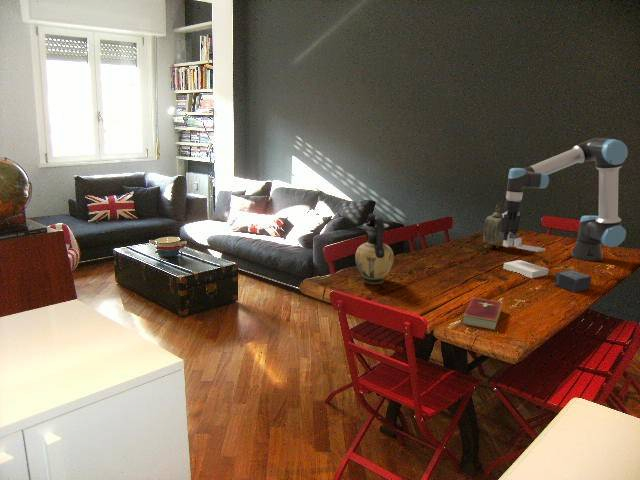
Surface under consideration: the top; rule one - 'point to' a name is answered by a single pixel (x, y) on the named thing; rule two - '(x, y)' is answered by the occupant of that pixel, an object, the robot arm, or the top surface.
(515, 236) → the dark gray bar
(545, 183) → the robot arm
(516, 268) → the board
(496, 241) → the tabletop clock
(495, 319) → the hardcover book
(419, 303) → the top surface
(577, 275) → the small box
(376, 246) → the amphora
